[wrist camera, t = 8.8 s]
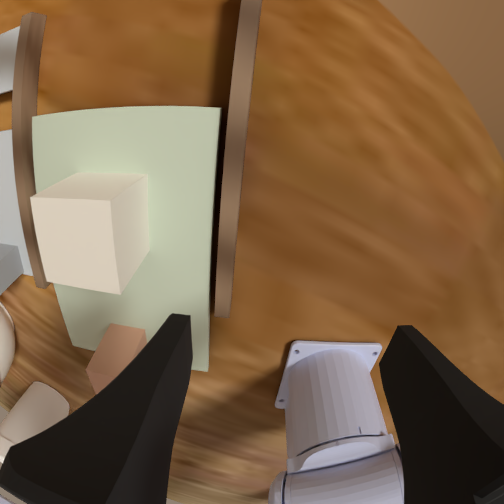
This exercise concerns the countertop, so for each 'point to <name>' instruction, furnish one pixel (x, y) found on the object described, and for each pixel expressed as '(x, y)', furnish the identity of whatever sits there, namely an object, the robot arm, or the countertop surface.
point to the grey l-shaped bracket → (10, 220)
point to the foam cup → (32, 415)
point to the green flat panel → (159, 220)
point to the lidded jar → (6, 342)
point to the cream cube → (93, 229)
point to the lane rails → (25, 107)
